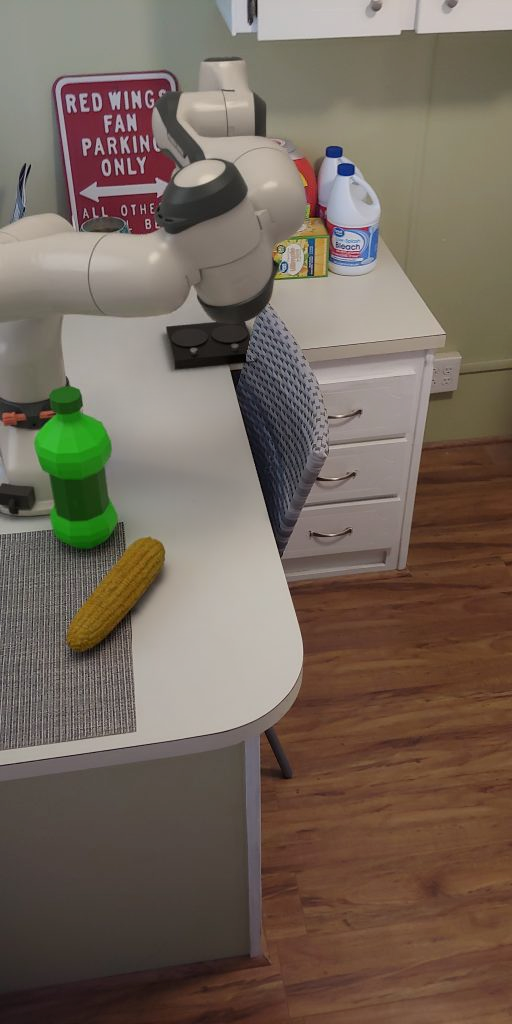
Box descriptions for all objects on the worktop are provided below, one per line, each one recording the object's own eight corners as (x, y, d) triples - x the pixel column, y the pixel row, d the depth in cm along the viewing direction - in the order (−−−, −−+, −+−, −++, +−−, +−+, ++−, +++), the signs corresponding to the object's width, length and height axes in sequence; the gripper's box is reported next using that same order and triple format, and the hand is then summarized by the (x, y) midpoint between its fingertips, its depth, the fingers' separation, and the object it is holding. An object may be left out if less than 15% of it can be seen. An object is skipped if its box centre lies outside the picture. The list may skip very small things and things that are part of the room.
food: (138, 557, 136) (135, 525, 132) (172, 567, 134) (170, 536, 130) (59, 655, 121) (52, 623, 117) (96, 668, 119) (91, 636, 115)
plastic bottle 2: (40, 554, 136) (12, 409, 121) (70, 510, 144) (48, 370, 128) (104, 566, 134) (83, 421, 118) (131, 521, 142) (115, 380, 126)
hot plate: (256, 361, 180) (256, 347, 178) (174, 369, 178) (174, 355, 176) (244, 328, 191) (243, 314, 189) (166, 335, 189) (165, 321, 187)
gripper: (279, 146, 167) (278, 221, 175) (165, 154, 164) (170, 230, 172) (287, 157, 162) (285, 234, 170) (170, 165, 159) (174, 243, 167)
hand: (227, 232), depth 171 cm, fingers closed on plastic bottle, 6 cm apart
